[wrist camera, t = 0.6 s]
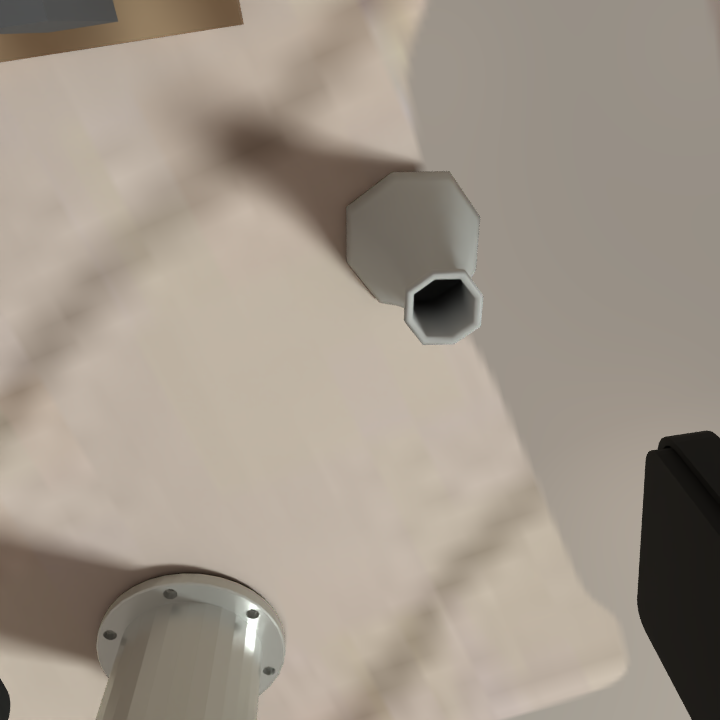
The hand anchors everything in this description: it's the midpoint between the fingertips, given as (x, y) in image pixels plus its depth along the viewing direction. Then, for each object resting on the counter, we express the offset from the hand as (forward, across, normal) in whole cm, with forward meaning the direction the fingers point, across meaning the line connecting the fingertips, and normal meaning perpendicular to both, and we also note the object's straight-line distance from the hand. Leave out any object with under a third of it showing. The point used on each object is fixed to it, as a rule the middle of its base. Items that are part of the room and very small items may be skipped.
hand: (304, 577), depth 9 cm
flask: (+28, -4, +4) cm, 28 cm away
